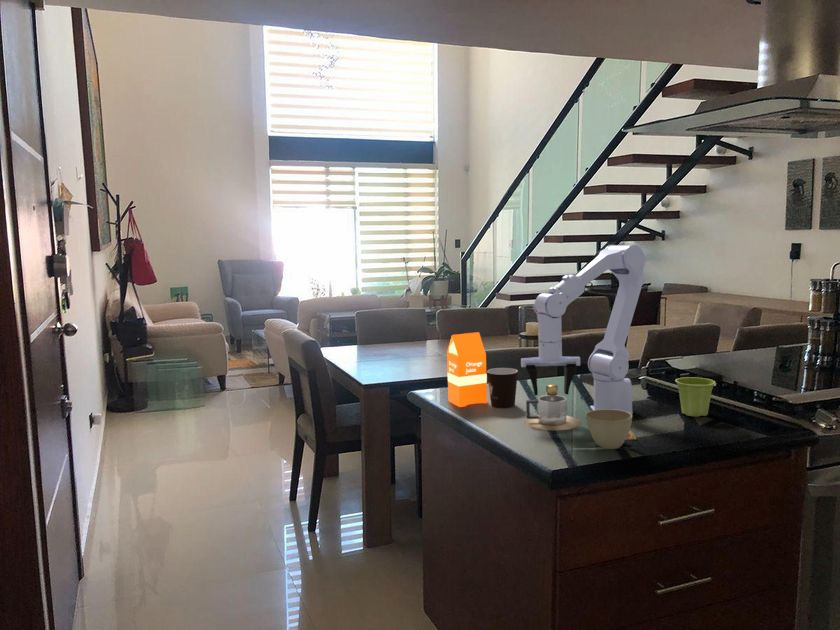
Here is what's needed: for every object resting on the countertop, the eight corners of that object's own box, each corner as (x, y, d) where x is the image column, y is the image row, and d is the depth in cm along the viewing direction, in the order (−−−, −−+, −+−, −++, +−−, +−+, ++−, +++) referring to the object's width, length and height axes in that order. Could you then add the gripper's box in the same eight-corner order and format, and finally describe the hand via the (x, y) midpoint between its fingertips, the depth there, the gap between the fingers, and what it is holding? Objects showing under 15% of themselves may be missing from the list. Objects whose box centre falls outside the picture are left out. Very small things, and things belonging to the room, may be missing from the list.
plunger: (561, 408, 167) (560, 383, 166) (564, 413, 162) (563, 387, 161) (540, 408, 168) (540, 383, 167) (543, 414, 162) (542, 388, 162)
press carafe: (564, 417, 168) (563, 394, 168) (568, 425, 161) (568, 401, 161) (525, 418, 169) (525, 395, 168) (528, 426, 162) (527, 402, 161)
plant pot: (678, 407, 175) (678, 375, 174) (717, 411, 170) (717, 378, 169) (671, 416, 167) (672, 383, 166) (712, 420, 162) (712, 386, 161)
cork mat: (575, 415, 172) (575, 413, 172) (585, 431, 158) (585, 429, 158) (521, 416, 173) (521, 414, 173) (527, 432, 159) (527, 430, 159)
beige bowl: (623, 437, 152) (623, 407, 151) (639, 452, 142) (639, 419, 141) (580, 439, 152) (580, 409, 151) (593, 454, 142) (593, 422, 141)
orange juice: (487, 403, 187) (485, 333, 185) (459, 407, 184) (457, 336, 182) (475, 397, 195) (473, 330, 192) (448, 401, 191) (445, 333, 189)
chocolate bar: (625, 427, 161) (625, 418, 161) (638, 442, 149) (638, 433, 149) (614, 427, 161) (614, 418, 161) (627, 443, 149) (627, 433, 149)
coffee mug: (517, 410, 178) (516, 374, 177) (485, 410, 180) (485, 374, 179) (519, 399, 190) (519, 365, 188) (490, 399, 191) (489, 365, 190)
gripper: (522, 344, 161) (523, 398, 163) (582, 342, 160) (583, 396, 162) (519, 339, 168) (521, 391, 170) (577, 338, 167) (577, 390, 169)
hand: (551, 393), depth 166 cm, fingers open, 7 cm apart
